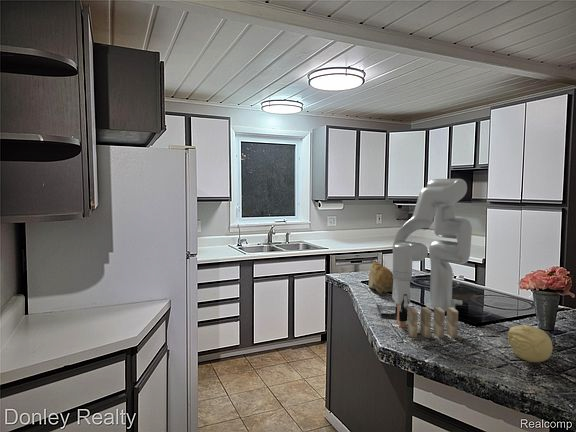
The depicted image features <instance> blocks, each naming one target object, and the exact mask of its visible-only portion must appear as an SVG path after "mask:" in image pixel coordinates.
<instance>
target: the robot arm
mask: <svg viewBox="0 0 576 432" xmlns="http://www.w3.org/2000/svg"><path fill="white" fill-rule="evenodd" d="M467 191H468V184H467V182H466V181H465V180H464V179H462V178H436V179H435V178H434V179H430V180H429V181H428V182H427V184H426V187H423V188H422V189H421V190H420V192H419V193H418V197H417V200H416V203H415V207H414V211H413V213H412V217H411V218H410V219H408V220H407V221H406V222H404V223H403V225H401V227H400V228H399V229H398V230H397V232H396V235H395V238H394V241H393V244H392V274H393V279H394V280H393V292H392V291H391V292H392V296H391V297H392V300H393V301H394V302H395V307H396V309H395V312H394V313H395V316H397V304H398V305H399V304H400V311H399V321H406V322H408V307H409V305H410V303H411V280H412V279H413V262H421V261H424V260H425V259H426V258H427V256H428V255H429V261H430V284H429V285H430V286H429V287H430V289H429V301H427V302H426V304H425V307H427V308H428V309H429V310H431V311H434V307H440V308H441V309H442V310H444V311H445V313H447V307H453V308H454V309H455V310H456V306H457V305H459V306H460V305H461V306H462V305H463V304H464V303H463V300H461V299H460V300H459V299H456V298H455V299H454V298H453V278H454V277H453V268H452V266H451V264H450V263H453V264H459V265H462V264H463V265H464V264H467V263H468V262H469V260H470V256H471V245H472V235H473V233H472V231H473V230H472V229H473V228H472V224H471V221H470V220H469V219H467V218H463V217H456V205H455V204H457V203H458V202H459V201H460V200H462V199H463V198H464V197H465V196H466V194H467ZM433 222H434V226H433V227H434V229H433V230H434V234H435V236H437V237H439V238H444V239H456V241H450V240H442V239H441V240H440V239H436V240H433V241H432V242H430V244H429V246H428V247H427V246H426V245H425V244H424V243H421V242H415V241H409V240H408V238H409V236H410V235H412V234H413V233H414V232H416V231H419V230H421V229H424V228H427V227H429V226H431V225H432V224H433ZM407 240H408V241H407ZM402 302H404V304H401V303H402ZM402 305H404V306H403V307H402Z"/></svg>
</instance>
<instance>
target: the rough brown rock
mask: <svg viewBox="0 0 576 432" xmlns="http://www.w3.org/2000/svg"><path fill="white" fill-rule="evenodd" d="M393 280H394V279H393V271H391V270H390V268H387V267H386V266H384V265H383V264H382V263H379V262H376V261H373V262H372V263H371V268H370V272H369V277H368V288H370V289H373V290H376V292H377V294H381V295H382V294H383V293H389V292H393Z"/></svg>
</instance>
